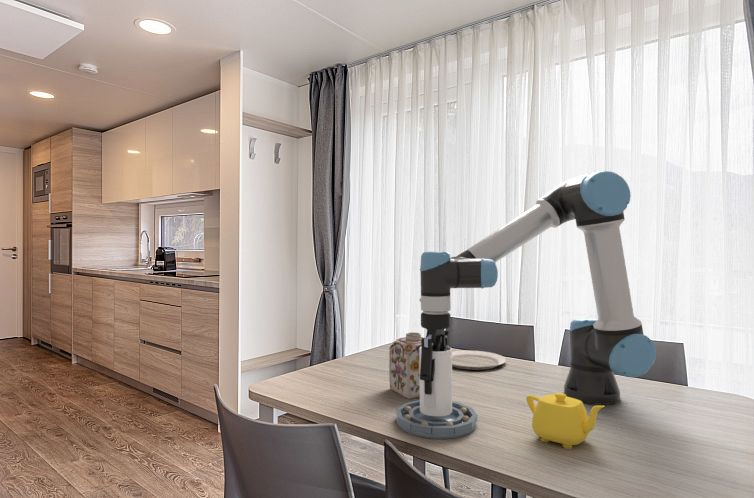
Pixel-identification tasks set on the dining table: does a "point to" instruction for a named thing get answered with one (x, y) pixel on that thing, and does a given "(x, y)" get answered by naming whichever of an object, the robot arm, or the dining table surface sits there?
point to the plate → (482, 354)
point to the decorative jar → (405, 365)
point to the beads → (464, 419)
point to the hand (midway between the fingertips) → (436, 400)
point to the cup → (439, 384)
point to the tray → (436, 422)
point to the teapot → (561, 419)
